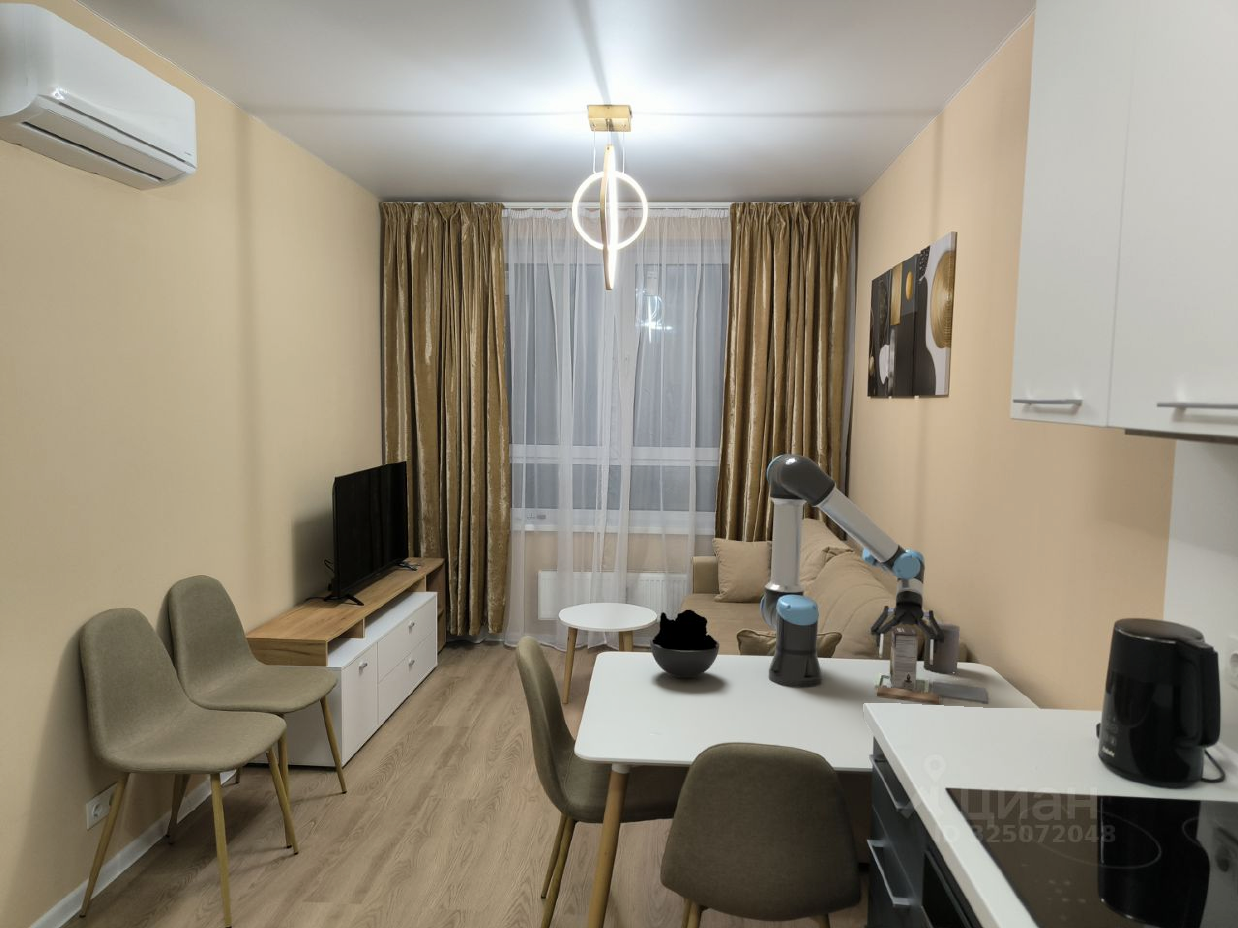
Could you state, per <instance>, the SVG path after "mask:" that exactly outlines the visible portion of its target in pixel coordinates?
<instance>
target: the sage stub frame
mask: <svg viewBox="0 0 1238 928" xmlns="http://www.w3.org/2000/svg"><path fill="white" fill-rule="evenodd" d="M882 678H883V679H884V678H885V679H889V678H890V674H886V673H880V672H879V673H877V677H876V680H875V681H876V682H875V684H874V689H878V686H883V687H888V685H886V684H882V685H881V681H882ZM916 683H918V684H919V683H920V684H924V691H923V692H926V693H929V686H930V685H929V683H930V680H929V679H924V678H917V677H916ZM890 688H895V687H893V686H892V685H890ZM899 689H904V688H901V687H899ZM908 690H912V689H908ZM915 691H919V692H922V690H921V689H915Z"/></svg>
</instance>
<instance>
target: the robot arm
mask: <svg viewBox="0 0 1238 928" xmlns="http://www.w3.org/2000/svg"><path fill="white" fill-rule="evenodd" d="M766 479H767V482H768V484H769V499H770V500H771V501H772V502H773V505H774V506H773V525H772V543H771V546H772V547H771V564H770V566H771V567H770V580H769V582H767V584H765V586H764V587H765V588H764V596H763V597H762V599H761V601H760V606H759V607H760V613H761V616H762V619H763V621H764V622H765V623H766V624H767V626H769V627H770V628H771V629H773V630H774V631H775V632H776V634H775V635H776V636H775V652H774V655H773V657H772V660H771V663H770V665H769V668H768V678H769V679H770V681H772V682H773V683H777V684H780V685H783V686H789V687H794V688H795V687H796V688H807V687H808V688H809V687H816V686H819V685H820V684H822V682H823V672H822V669H821V666H820V662H819V658H818V654H817V653H818V652H817V651H818V648H817V647H818V631H819V617H820V616H819V615H820V612H819V605H818V603H817V602H816V601H815V600H814V599H813V598H811V597H806V596H805V593H804V587H803V586H802V585H801V583H800V573H801V572H800V571H801V570H800V569H801V552H802V550H801V549H802V533H803V532H802V531H803V514H804V505H805V504H806V503H807V504H809V505H810V506H811V507H812V508H819V509H820V511H822V512H823V513H825V515H826V516H828V517H829V519H831V520H832V521H833V522H834V523H835V524H837V525H838V526H839V527H840V528H841V529H842V530H843V531H844V532H846V534H848V535H849V536H850V537H851V538H852V539H853V540H854V541H856V542H857V543H858V544H859V545H860V546H861V547H862V548H864V549H862V550H863V551H862V554H861V558H862V560H863V561H864V562H865V563H867V564H869V566H873V567H874V568H876V569H879V570H880V571H883V572H886V573H888V574H890V575H892V576H894V577H896V578H897V583H896V597H895V607H894V608H891V607H889V606H888V605H884V608H883V611H882V613H880V615H879V617H878V618H877V619H876V621H875V622H874V623H873V624H872V625H871V627H870V634H871V635H872V636H875V637H876V640H875V646H876V647H879V650H878V651H879V653H878V657H879V659H882V658H883V654H884V653H883V652H884V651H883V649H884V642H885V641H884V635H886V634H887V633H888V632H889V631H891V629H892V626H898V625H900V624H901V625H908V626H914V625H916V626H917V628H918V629H920V630H921V631H922V632H923V633H924V635H925V634H926V635H927V637H928V638H929V639H930V640H931V644H930V664H932V665H933V653H937V650H938V643H944V641H945V636H944V634H943V633H942V631H941V629H940V627H939V625H938V624H937V622H936V621H937V620H936V618H935V616H934V611H933V610H932V609H931V610H930V609H929V611H923V601H924V599H923V598H924V580H925V579H924V578H925V569H926V567H925V558H924V555H923V554H922V553H921V552H920V551H918V550H912V549H906V550H905V549H904V547H902V546H901V545H900V544H898V543H897V541H895V540H894V539H893V538H892V537H891V536H890V535H889V534H888V533H887V532H885V531H884V529H882V528H881V527H880V526H879V525H878V524H877V523H876V522H875V521H874V520H872V519H871V518H870V517H869V516H868V515H867V514H866V513H865V512H864V511H862V510H861V509H860V508H859V507H858V506H857V505H856V504H855V503H854V502H852V501H851V499H849V498H848V497H847V496H846V495H845V494H843V492H841V491H840V489H838V488H837V483H836V481H834V480H833V478H831V476H829V474H827V473H826V472H825V471H824V470H823V468H821V466H819V465H818V464H817V463H816V462H815V460H812V459H811V458H810V457H807V456H805V455H799V454H798V455H797V454H793V453H787V454H782V455H779V456H777V457H774V459H772V461H770V463H769V465H768V467H767V469H766ZM891 614H893V615H894V616H893V617H892V618H891V619H890V620H889V621H887V622H886V620H887V619H888V616H889V617H890V616H891ZM923 618H925V619H926V620H927V621H928V622H930V624H931V626H932V628H933V630H934V632H935V633H936V635H937V636H936V635H935V634H934V633H933V632H932V631H931V629H930V628H929V627H928V626H927V625H926V623H925V622H924V620H923ZM885 622H886V623H885ZM884 623H885V624H884ZM882 625H883V626H882Z"/></svg>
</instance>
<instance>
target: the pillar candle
mask: <svg viewBox="0 0 1238 928" xmlns="http://www.w3.org/2000/svg"><path fill="white" fill-rule="evenodd" d="M936 622H937V624H938V625H939V627H940V629H941V631H942V633H943V634H944V636H945V641H944V643H938V650H937V653H933V665H932V664H930V644H931V640H930V639H929V638H928V637H927V635H926V634H925V633H924V636H925V637H924V654H923V657H924V658H923V668H924V669H925V670H927V671H929V670H930V672H933V671H934V672H933V673H938V672H939V673H938V674H948V673H949V674H954V673H953V672H955V673H957V672H956V671H958V659H959V658H958V657H959V645H960V644H959V643H960V642H959V641H960V629H961V628H960V625H959V626H958V625H957V624H953V623H951V622H946V621H943V620H941V621H937V620H936ZM925 624H926V625H927V626H928V627H929V628H930V629H931V631H932V632H933V633H934V634H935V635H936V633H935V632H934V630H933V628H932V626H931V624H930V622H929V621H927V622H926V623H925ZM936 636H937V635H936Z"/></svg>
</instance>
